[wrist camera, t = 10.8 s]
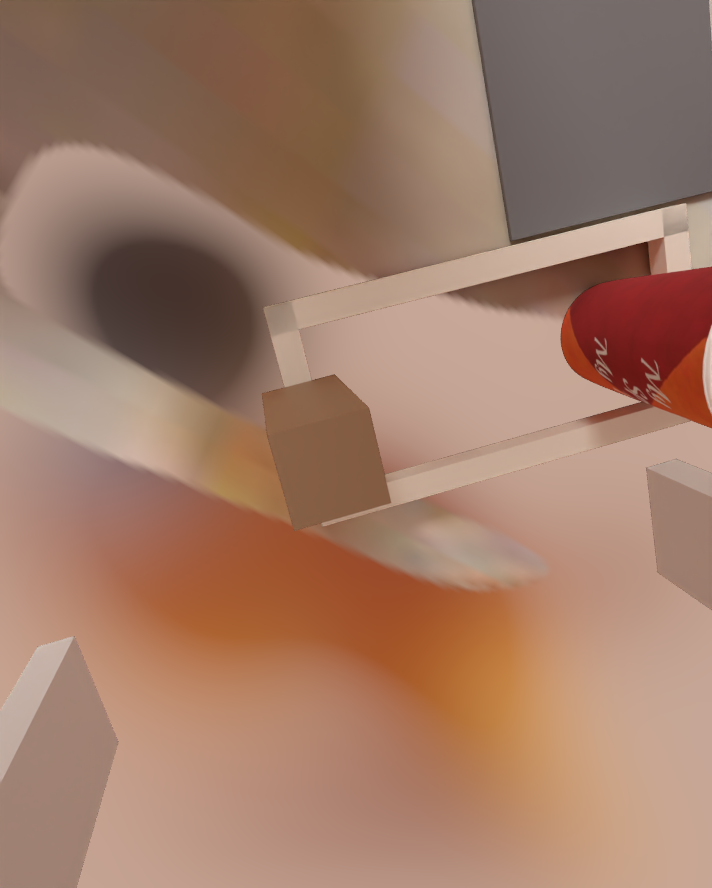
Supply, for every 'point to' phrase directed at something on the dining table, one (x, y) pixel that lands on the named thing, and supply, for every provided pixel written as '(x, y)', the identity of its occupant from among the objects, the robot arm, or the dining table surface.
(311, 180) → the dining table surface
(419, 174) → the dining table surface
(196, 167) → the dining table surface
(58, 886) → the robot arm
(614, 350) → the coffee cup
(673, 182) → the coaster
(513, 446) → the frame
